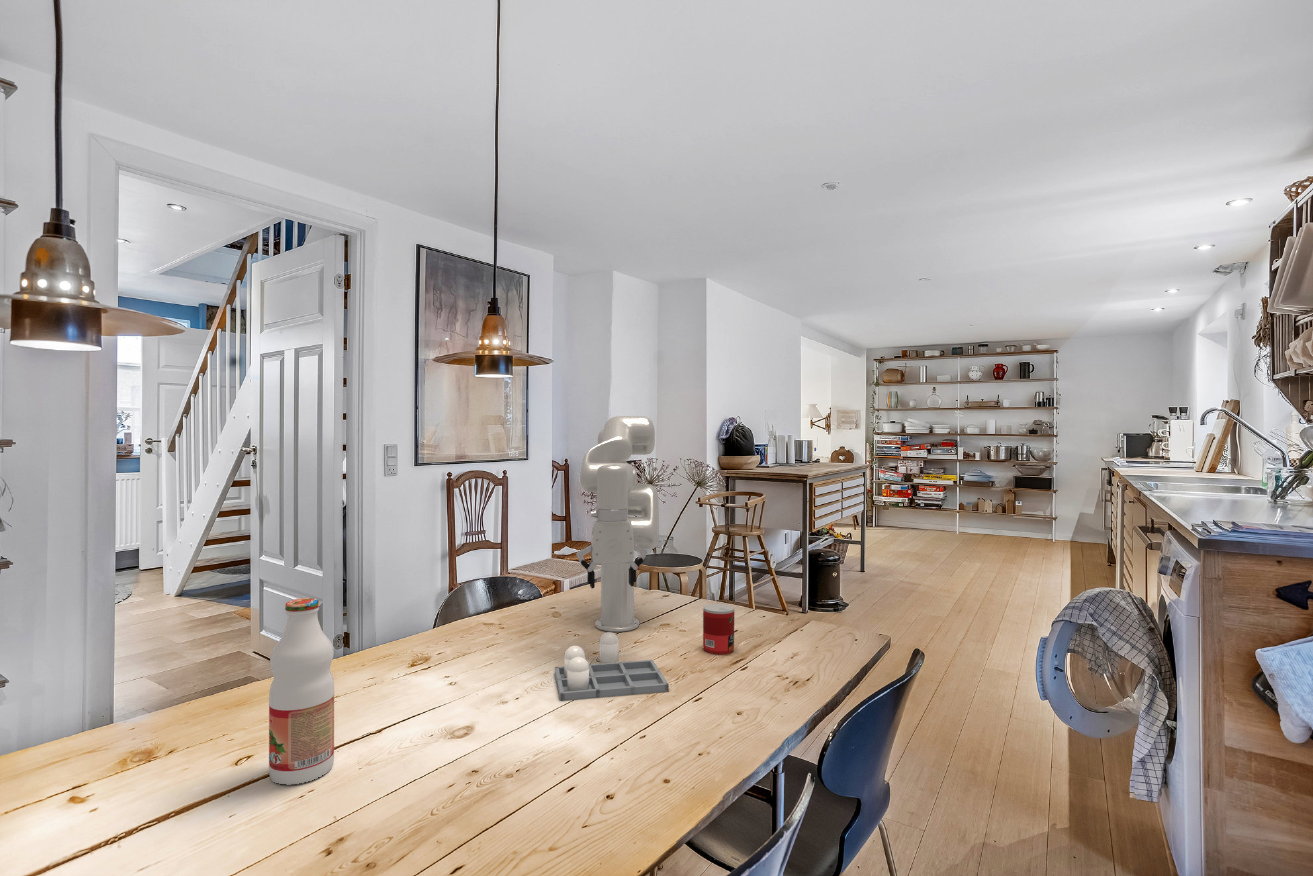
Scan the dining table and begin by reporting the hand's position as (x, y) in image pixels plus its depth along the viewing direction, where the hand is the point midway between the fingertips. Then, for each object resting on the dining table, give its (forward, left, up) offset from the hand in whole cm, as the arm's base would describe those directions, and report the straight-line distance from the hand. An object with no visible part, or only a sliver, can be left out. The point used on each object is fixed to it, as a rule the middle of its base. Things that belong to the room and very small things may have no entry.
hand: (611, 586), depth 159 cm
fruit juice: (+40, -58, -19) cm, 72 cm away
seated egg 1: (+10, -10, -18) cm, 23 cm away
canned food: (-3, +28, -19) cm, 34 cm away
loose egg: (0, -1, -19) cm, 19 cm away
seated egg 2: (+17, -10, -18) cm, 27 cm away
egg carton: (+14, -3, -19) cm, 23 cm away
